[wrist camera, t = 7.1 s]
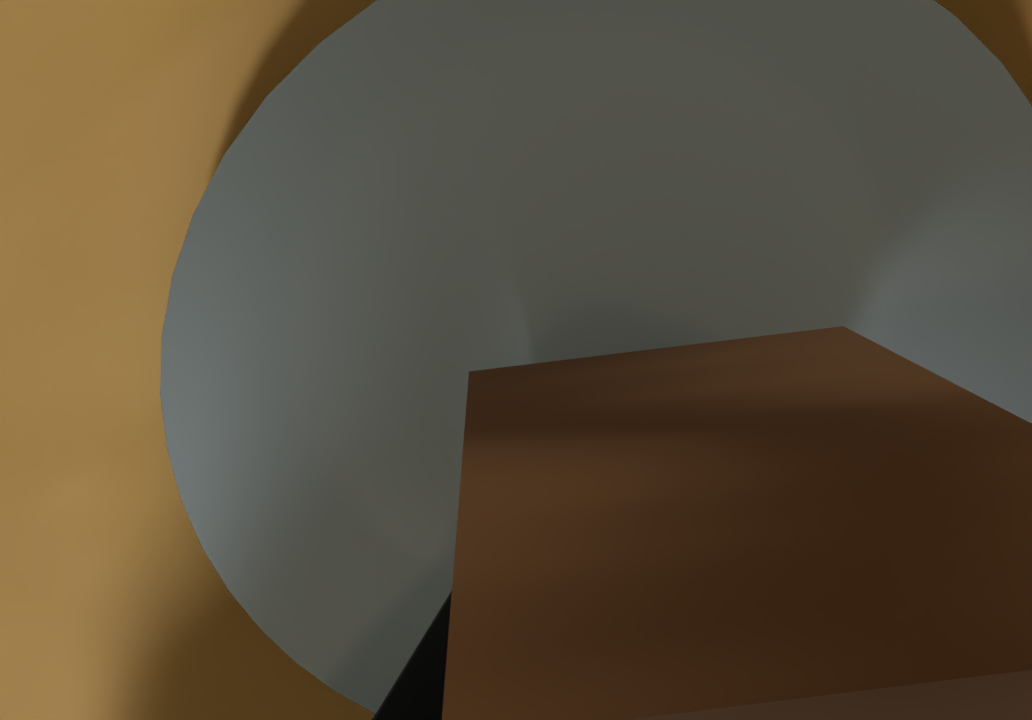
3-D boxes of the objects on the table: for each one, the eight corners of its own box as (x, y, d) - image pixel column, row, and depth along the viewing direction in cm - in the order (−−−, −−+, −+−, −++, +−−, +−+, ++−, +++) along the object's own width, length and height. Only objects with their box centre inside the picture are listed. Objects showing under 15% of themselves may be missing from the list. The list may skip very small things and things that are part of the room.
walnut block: (512, 667, 9) (539, 1235, 4) (468, 370, 8) (438, 743, 3) (827, 629, 9) (1191, 1152, 4) (844, 325, 8) (1414, 623, 3)
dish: (304, 748, 15) (290, 801, 14) (55, 1, 9) (-4, -13, 8) (959, 668, 15) (998, 715, 14) (1120, -123, 9) (1209, -154, 8)
